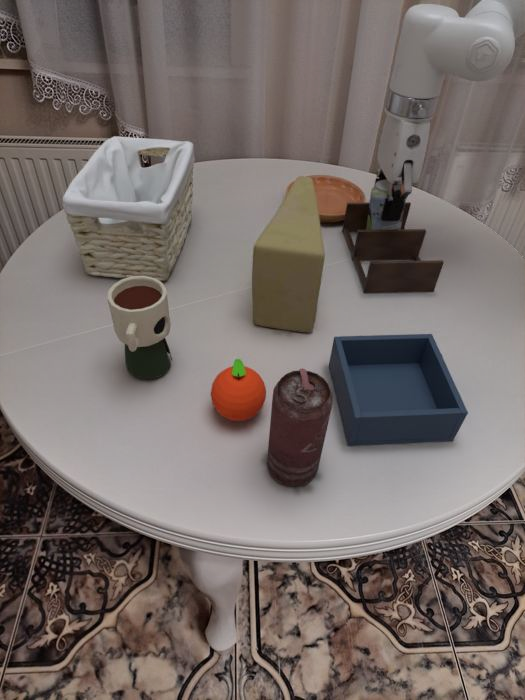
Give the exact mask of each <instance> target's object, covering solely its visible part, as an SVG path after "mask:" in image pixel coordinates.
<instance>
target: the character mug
mask: <svg viewBox="0 0 525 700" xmlns="http://www.w3.org/2000/svg"><path fill="white" fill-rule="evenodd" d="M107 304H108V309H109V312H110V316H111V321H112V324H113V329H114V333H115V334H116V336H117V338H118V340H119V342H121V343H122V344H124V360H125V367H126V370H127V372H128V373H130V374H131V375H132V376H134V377H138V378H142V379H157V378H159V377H162V376H163V375H165V374H166V373H167V372H168V371H169V370H170V369H171V362H172V361H173V357H172V354H171V351H170V348H169V345H168V342H167V339H166V338H167V336H169V334H170V333H171V326H172V325H171V317H170V308H169V299H168V292H167V288H166V286H165V285H164V283H163V281H158V280H157V279H155V278H152V277H147V276H132V277H128V278H121V279H119V280H118V281H117V282H115V283H114V284H112V286H111V287H109V289H108V291H107ZM169 357H170V358H169ZM170 361H171V362H170Z"/></svg>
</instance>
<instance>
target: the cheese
mask: <svg viewBox="0 0 525 700" xmlns="http://www.w3.org/2000/svg"><path fill="white" fill-rule="evenodd" d="M294 181H295V182H294V183H293V185H292V186H291V188H290V190H289V192H288V194H287V196H286V195H285V197H284V199H283V200H282V203H281V204H280V206H279V208H278V209H277V210H276V211H275V214H274V215H273V217H272V218H271V219H270V221H269V222H268V224H267V225H266V226H265V228H264V230H263V231H262V232H261V233H260V235H259V236H258V238H257V240H256V241H255V243H254V244H253V249H252V250H253V251H252V252H253V253H252V266H251V268H252V269H251V273H252V274H251V300H252V301H251V303H252V323H254V325H257V326H261V327H265V328H271V329H278V330H286V331H290V332H291V331H292V332H298V333H311V332H312V331H313V330H314V328H315V324H316V318H317V313H318V303H319V296H320V289H321V284H322V277H323V271H324V264H325V257H326V255H325V254H326V253H325V246H324V240H323V234H322V233H323V232H322V226H321V222H320V218H319V210H318V203H317V198H316V194H315V189H314V184H313V180H312V178H311V177H305V176H303V175H299V176H298V177H297V178H296V179H295V180H294Z"/></svg>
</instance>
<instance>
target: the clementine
mask: <svg viewBox="0 0 525 700" xmlns="http://www.w3.org/2000/svg"><path fill="white" fill-rule="evenodd" d="M262 378H263V377H261V376H260V374H259V373H258V372H257V371H256V370H255V369H252V368H250V367H248V366H245V364H244V363H243V361H242V360H241V358H235V359H234V361H233V364H232V366H229V367H227V368H224V369H223V370H222V371H220V372H219V373H218V374H217V375H216V377H215V378H214V380H213V382H212V384H211V389H210V397H211V399H210V400H211V403H212V405H213V407H214V409H215V410H216V411H217V412H218V414H219V415H220V416H222V417H224V418H225V419H227V420H230V421H233V422H235V421H236V422H241V421H247V420H250V419H252V418H253V417H255V416H256V415H257V414H258V413H259V412H260V411H261V410H262V408H263V407H264V404H265V402H266V397H267V388H266V385H265V382H264V380H263V379H262Z"/></svg>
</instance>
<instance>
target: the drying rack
mask: <svg viewBox="0 0 525 700" xmlns="http://www.w3.org/2000/svg"><path fill="white" fill-rule="evenodd" d="M369 203H370V202H365V203H347V206H346V211H345V217H344V220H343V224H342V230H341V232H342V233H343V236H344V239H345V241H346V245H347V247H348V250H349V253H350V256H351V260H352V262H353V265H354V267H355V270H356V273H357V275H358V279H359V282H360V284H361V287H362V290H363V291H362V292H363V294H382V293H383V294H385V293H386V294H387V293H388V294H389V293H392V294H393V293H431V292H432V293H433V292H435V289H436V287H437V284H438V280H439V277H440V274H441V272H442V269H443V267H444V263H445V261H444V260H443V259H440V260H439V259H437V260H433V259H431V260H430V259H429V260H422V259H421V258H420V253H421V249H422V246H423V243H424V240H425V238H426V237H425V235H426V233H427V230H426V229H425V228H411V229H410V228H407V229H405V227H406V224H407V220H408V216H409V213H410V209H411V205H412V203H411V202H409V201H405V207H404V212H403V218H402V224H401V229H391V230H366V227H367V219H368V211H369ZM351 233H356V236H355V242H354V241H353V238H352V236H351ZM362 261H369V264H368V268H367V272H366V273H365V271H364V268H363V265H362Z"/></svg>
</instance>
